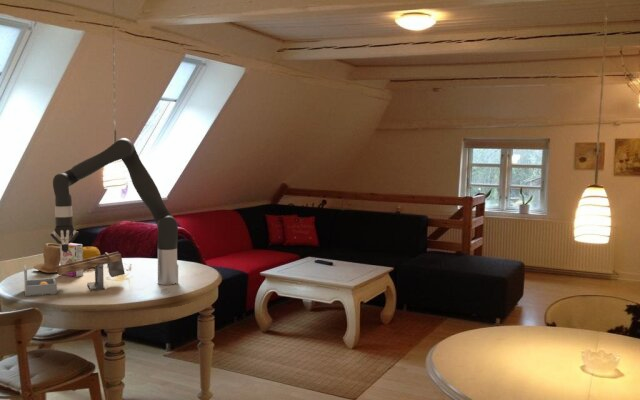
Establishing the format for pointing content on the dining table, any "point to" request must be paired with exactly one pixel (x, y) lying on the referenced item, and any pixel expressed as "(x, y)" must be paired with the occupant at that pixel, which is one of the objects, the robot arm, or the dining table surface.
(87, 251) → the yellow pumpkin
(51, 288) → the grey tray
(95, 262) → the lever
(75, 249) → the candy bar box
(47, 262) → the brown top hat
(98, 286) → the lever stand
